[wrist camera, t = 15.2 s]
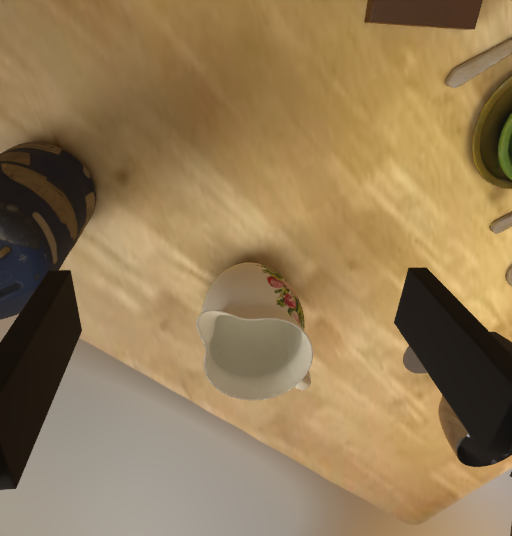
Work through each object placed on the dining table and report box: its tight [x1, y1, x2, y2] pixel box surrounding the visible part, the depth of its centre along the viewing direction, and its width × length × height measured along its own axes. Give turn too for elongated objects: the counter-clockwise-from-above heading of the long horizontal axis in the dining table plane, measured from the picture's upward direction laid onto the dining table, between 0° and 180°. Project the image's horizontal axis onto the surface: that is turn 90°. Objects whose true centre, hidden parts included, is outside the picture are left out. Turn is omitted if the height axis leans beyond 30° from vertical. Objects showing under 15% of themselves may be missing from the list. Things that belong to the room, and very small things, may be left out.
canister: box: [0, 142, 96, 319], centre depth 34 cm, size 10×10×18 cm
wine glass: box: [403, 346, 512, 467], centre depth 52 cm, size 8×8×15 cm
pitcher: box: [196, 263, 313, 400], centre depth 44 cm, size 11×18×14 cm, turn 39°
